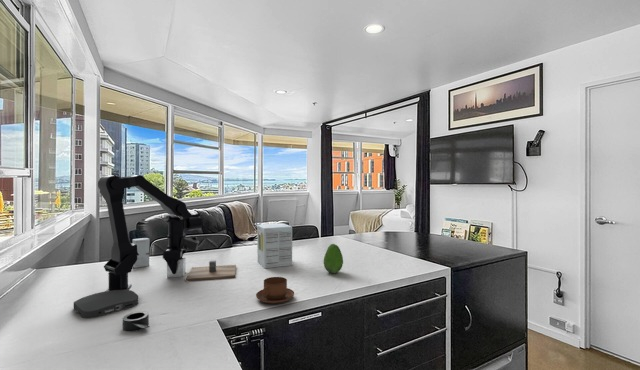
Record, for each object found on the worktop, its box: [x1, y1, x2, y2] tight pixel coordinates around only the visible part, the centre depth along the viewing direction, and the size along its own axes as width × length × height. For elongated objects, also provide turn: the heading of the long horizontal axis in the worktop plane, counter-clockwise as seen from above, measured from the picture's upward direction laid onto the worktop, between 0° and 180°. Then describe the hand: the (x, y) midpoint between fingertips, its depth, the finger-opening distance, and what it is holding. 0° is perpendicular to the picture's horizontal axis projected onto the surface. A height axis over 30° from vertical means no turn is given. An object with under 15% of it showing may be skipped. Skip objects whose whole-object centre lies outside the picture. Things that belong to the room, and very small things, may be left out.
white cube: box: [166, 257, 187, 278], centre depth 126 cm, size 6×6×6 cm
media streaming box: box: [73, 289, 139, 319], centre depth 95 cm, size 15×15×3 cm
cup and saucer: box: [255, 276, 295, 304], centre depth 100 cm, size 12×12×6 cm
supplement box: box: [256, 222, 293, 269], centre depth 143 cm, size 13×13×18 cm
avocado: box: [323, 243, 344, 274], centre depth 128 cm, size 8×8×12 cm
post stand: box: [184, 260, 237, 282], centre depth 128 cm, size 16×18×5 cm
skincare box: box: [131, 237, 151, 269], centre depth 139 cm, size 6×4×12 cm
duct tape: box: [122, 311, 151, 333], centre depth 81 cm, size 8×10×3 cm
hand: (176, 270), depth 126 cm, fingers open, 8 cm apart
